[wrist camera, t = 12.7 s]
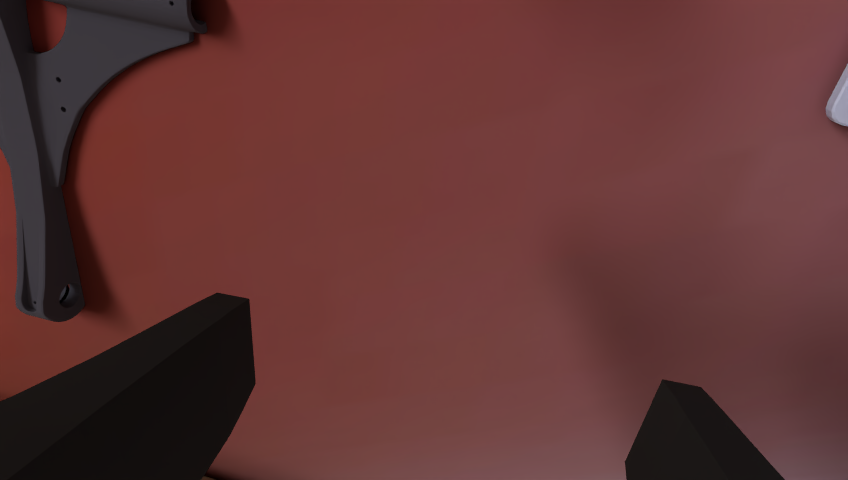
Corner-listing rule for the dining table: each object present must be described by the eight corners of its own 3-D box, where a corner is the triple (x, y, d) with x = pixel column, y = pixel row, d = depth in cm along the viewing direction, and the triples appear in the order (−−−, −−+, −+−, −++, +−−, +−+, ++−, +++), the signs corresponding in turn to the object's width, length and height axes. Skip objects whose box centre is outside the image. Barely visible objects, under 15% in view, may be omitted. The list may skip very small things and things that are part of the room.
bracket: (-54, 261, 24) (-117, 293, 22) (-186, -105, 17) (-303, -118, 15) (228, 331, 23) (195, 372, 21) (217, -24, 16) (164, -23, 14)
